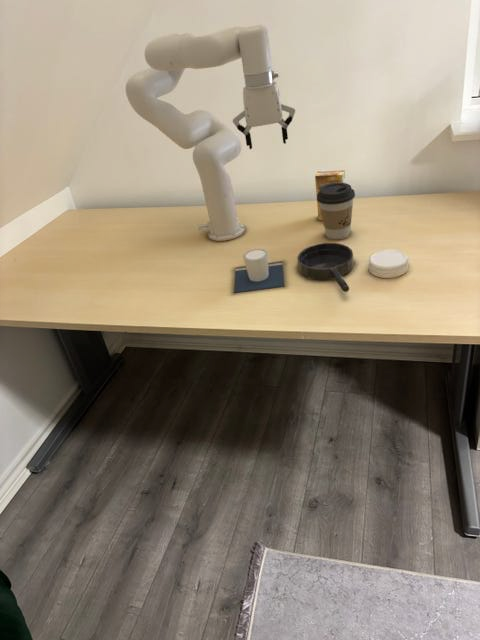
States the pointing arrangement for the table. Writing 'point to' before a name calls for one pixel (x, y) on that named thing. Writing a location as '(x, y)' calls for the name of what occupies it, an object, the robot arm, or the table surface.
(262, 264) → the white cup
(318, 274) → the pan
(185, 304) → the table surface
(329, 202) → the coffee cup
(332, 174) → the candy box
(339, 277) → the pan handle
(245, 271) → the cloth
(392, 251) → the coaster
